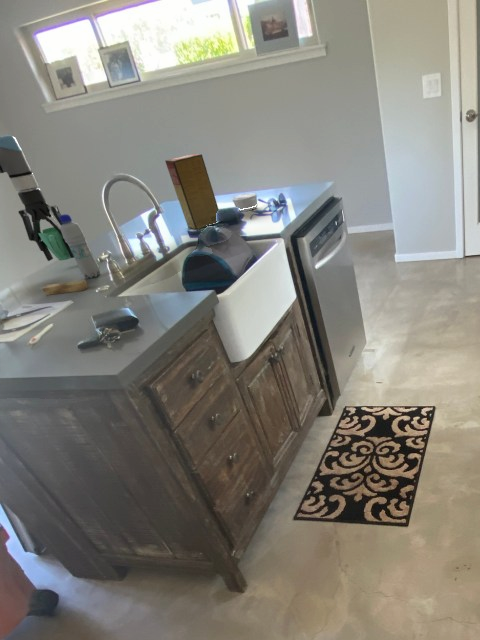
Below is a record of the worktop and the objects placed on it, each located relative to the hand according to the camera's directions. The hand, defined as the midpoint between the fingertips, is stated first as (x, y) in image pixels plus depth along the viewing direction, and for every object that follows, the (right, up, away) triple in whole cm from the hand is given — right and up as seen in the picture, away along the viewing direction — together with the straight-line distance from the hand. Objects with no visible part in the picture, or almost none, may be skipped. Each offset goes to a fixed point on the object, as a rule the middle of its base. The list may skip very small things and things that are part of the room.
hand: (62, 258), depth 196 cm
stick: (+14, -21, -20) cm, 32 cm away
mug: (+1, -1, 0) cm, 1 cm away
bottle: (+17, -12, -10) cm, 23 cm away
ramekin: (+59, +44, +44) cm, 86 cm away
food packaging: (+44, +30, +31) cm, 61 cm away
